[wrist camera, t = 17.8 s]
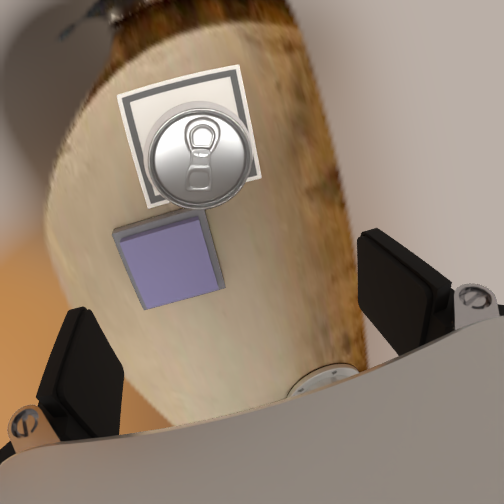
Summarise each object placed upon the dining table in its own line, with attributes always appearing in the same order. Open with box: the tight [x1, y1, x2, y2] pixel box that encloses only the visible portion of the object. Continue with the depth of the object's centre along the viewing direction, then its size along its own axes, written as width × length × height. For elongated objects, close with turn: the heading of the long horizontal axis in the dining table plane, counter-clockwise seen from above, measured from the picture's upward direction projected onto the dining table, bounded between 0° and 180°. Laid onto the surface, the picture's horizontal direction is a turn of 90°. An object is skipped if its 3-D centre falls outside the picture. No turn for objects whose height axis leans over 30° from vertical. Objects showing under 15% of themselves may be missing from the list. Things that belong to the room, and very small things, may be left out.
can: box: [143, 101, 253, 210], centre depth 22 cm, size 6×6×12 cm
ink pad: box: [112, 208, 226, 310], centre depth 31 cm, size 9×9×2 cm
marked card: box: [117, 64, 262, 209], centre depth 27 cm, size 11×11×1 cm
